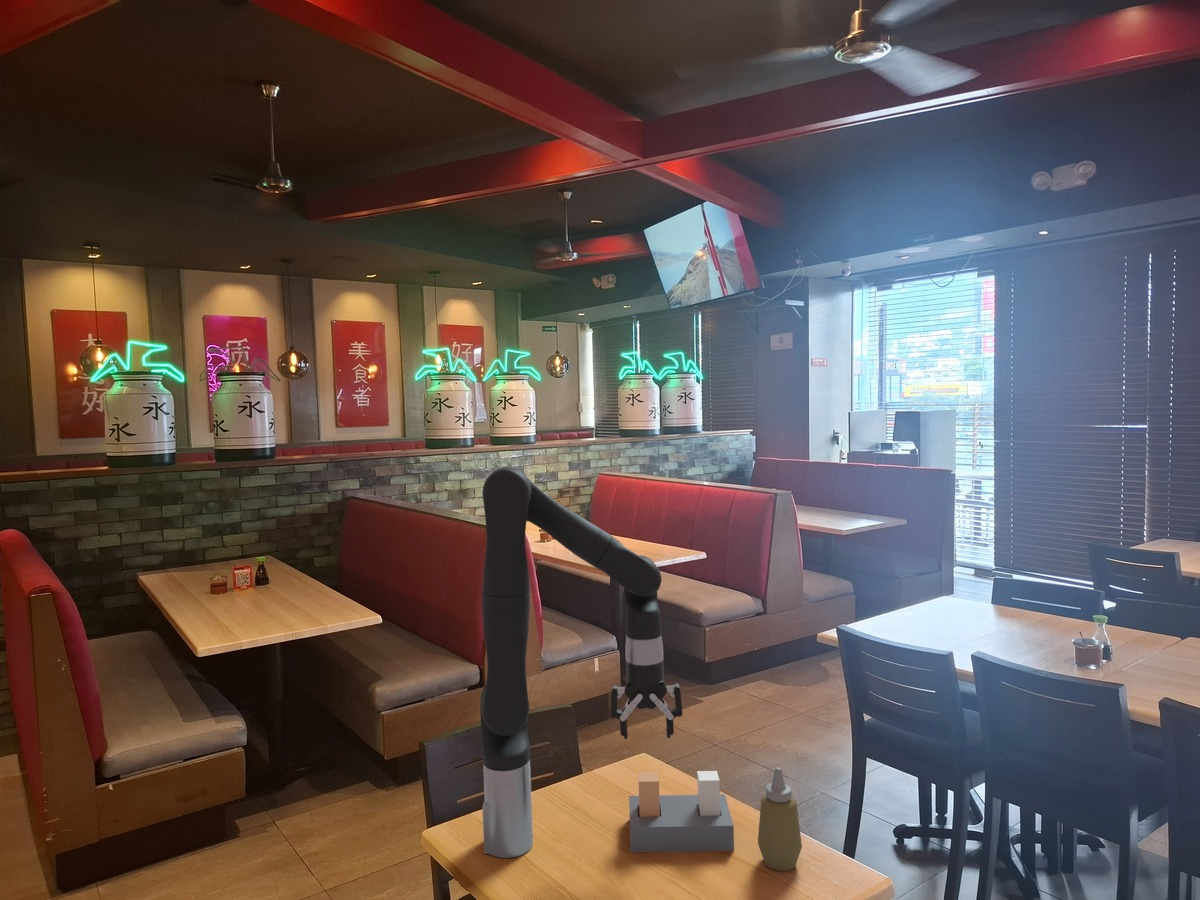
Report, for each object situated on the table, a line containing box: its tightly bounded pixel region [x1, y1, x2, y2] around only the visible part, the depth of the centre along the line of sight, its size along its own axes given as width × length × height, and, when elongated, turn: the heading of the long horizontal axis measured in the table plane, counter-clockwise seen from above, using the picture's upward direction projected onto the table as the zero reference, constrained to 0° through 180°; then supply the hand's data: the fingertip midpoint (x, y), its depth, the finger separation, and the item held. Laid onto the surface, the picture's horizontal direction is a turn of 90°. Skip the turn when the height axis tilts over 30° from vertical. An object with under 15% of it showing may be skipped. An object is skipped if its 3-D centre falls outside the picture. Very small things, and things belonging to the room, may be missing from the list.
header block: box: [628, 793, 735, 853], centre depth 153 cm, size 20×12×5 cm, turn 89°
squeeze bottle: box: [757, 767, 803, 872], centre depth 142 cm, size 8×8×18 cm
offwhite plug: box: [696, 770, 721, 816], centre depth 152 cm, size 4×4×12 cm
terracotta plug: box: [637, 771, 660, 817], centre depth 153 cm, size 4×4×12 cm
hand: (647, 736), depth 152 cm, fingers open, 8 cm apart
